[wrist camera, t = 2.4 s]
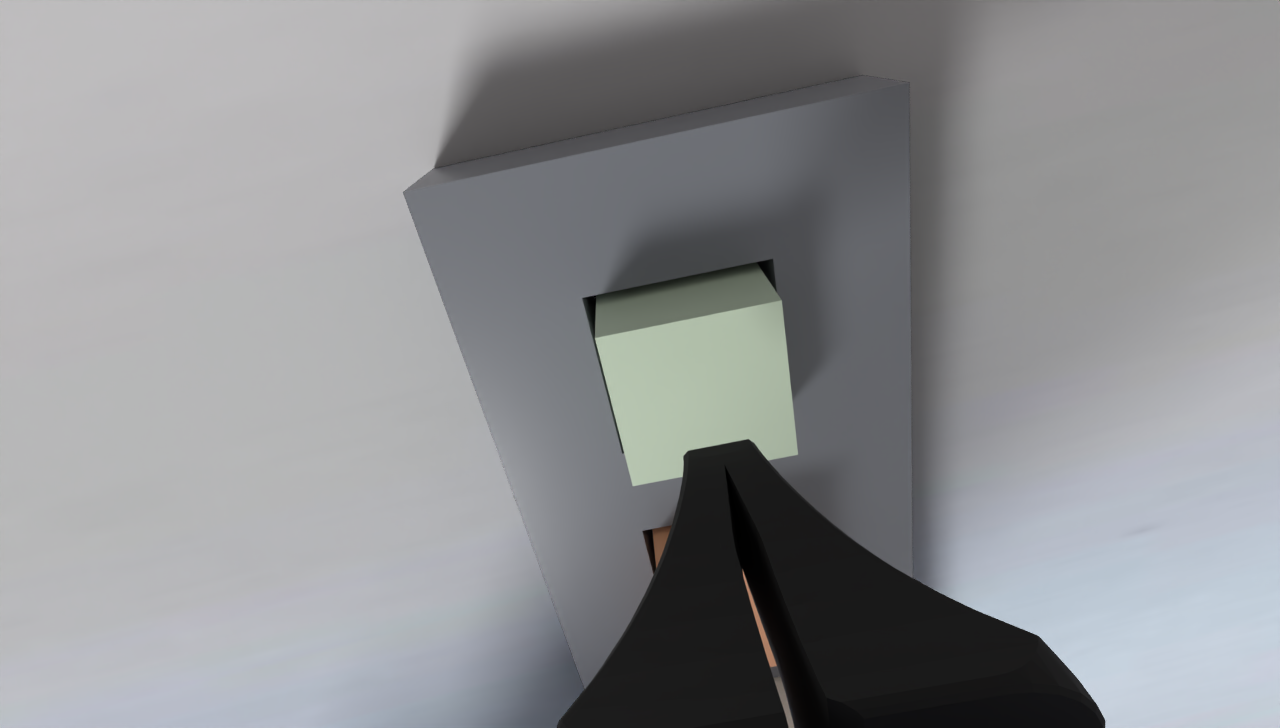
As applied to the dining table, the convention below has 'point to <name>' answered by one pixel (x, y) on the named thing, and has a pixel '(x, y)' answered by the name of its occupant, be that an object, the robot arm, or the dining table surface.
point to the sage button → (696, 368)
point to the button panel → (668, 249)
